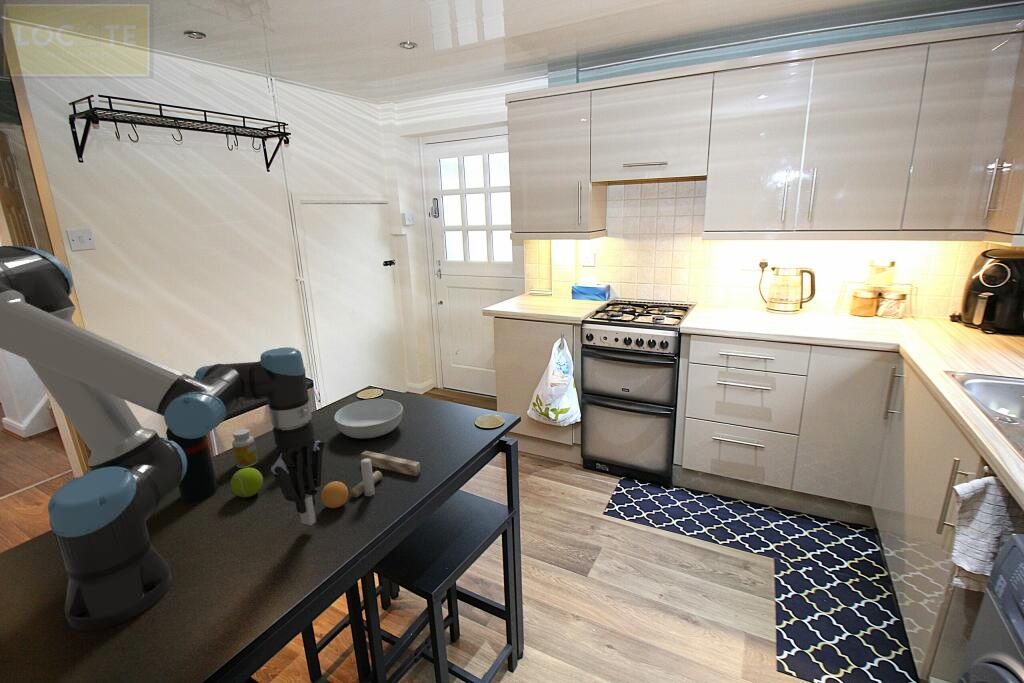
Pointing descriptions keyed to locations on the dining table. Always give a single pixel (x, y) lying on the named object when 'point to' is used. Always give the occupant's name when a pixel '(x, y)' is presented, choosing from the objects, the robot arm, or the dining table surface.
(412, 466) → the back wall
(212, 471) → the wine bottle
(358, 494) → the pin
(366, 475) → the pin
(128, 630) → the dining table surface
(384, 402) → the serving bowl
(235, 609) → the dining table surface
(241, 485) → the tennis ball
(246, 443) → the supplement bottle
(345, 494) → the ball
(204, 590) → the dining table surface
